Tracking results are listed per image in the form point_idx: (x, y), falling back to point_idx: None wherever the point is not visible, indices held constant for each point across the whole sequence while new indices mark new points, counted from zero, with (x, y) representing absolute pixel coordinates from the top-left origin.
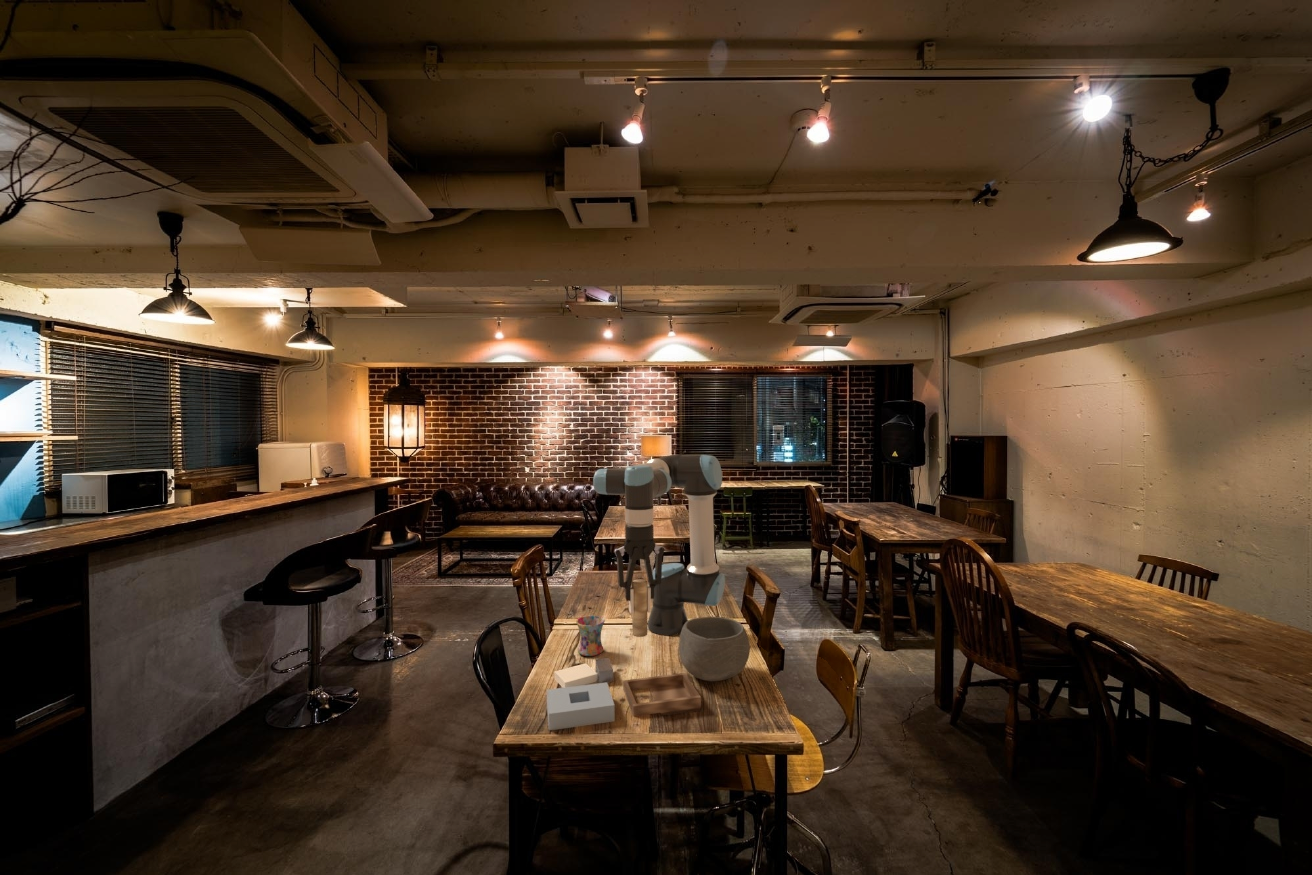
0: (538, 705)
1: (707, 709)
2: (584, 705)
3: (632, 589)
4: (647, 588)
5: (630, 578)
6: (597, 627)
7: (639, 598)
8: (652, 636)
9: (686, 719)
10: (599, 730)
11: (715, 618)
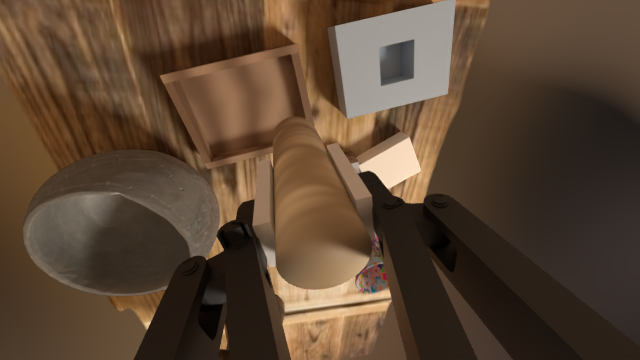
0: (439, 97)
1: (156, 75)
2: (390, 28)
3: (361, 197)
4: (272, 227)
5: (403, 245)
6: (366, 264)
7: (313, 169)
8: (276, 286)
9: (194, 39)
10: (352, 9)
11: (128, 291)
